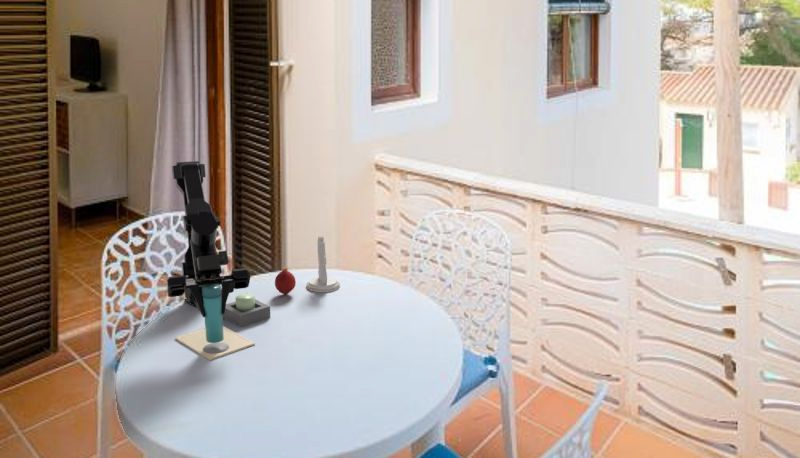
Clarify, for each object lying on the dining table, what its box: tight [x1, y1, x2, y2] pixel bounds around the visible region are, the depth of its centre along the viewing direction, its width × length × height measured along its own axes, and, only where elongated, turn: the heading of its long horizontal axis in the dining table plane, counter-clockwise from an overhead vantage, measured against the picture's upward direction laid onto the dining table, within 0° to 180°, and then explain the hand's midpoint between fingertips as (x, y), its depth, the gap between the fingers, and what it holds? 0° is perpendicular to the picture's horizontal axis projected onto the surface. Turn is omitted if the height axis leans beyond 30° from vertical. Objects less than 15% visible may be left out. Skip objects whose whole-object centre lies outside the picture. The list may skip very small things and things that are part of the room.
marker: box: [202, 284, 224, 343], centre depth 164 cm, size 4×4×13 cm
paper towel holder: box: [305, 235, 341, 293], centre depth 205 cm, size 10×10×15 cm
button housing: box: [222, 299, 271, 327], centre depth 184 cm, size 9×9×3 cm
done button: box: [235, 293, 256, 312], centre depth 183 cm, size 5×5×4 cm
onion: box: [274, 267, 297, 296], centre depth 199 cm, size 6×6×8 cm
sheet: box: [174, 325, 256, 361], centre depth 169 cm, size 16×12×1 cm
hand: (214, 315), depth 163 cm, fingers closed on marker, 4 cm apart
